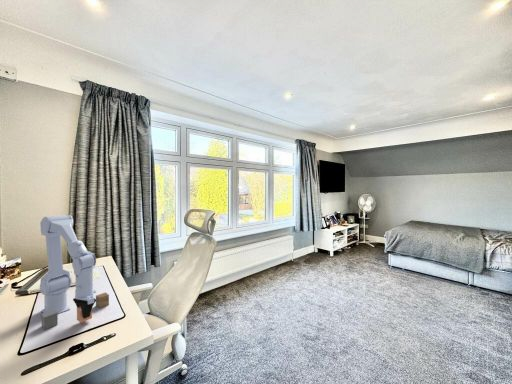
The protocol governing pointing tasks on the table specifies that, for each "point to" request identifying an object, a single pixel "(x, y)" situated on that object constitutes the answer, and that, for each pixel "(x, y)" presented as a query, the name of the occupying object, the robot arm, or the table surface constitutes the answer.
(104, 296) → the walnut block
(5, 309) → the table surface
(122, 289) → the table surface
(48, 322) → the charcoal block
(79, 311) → the terracotta block
